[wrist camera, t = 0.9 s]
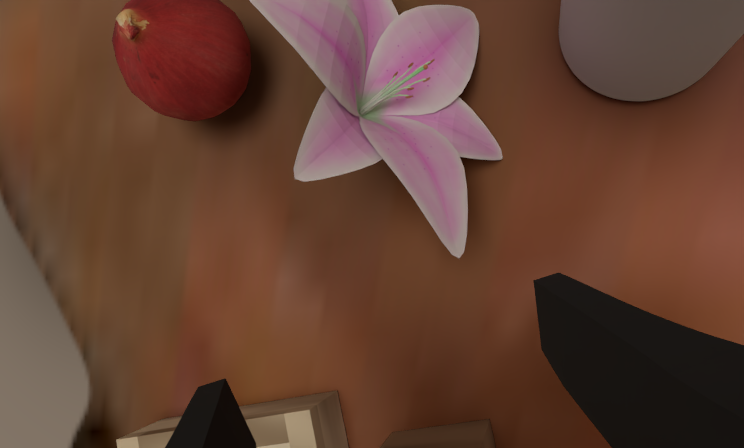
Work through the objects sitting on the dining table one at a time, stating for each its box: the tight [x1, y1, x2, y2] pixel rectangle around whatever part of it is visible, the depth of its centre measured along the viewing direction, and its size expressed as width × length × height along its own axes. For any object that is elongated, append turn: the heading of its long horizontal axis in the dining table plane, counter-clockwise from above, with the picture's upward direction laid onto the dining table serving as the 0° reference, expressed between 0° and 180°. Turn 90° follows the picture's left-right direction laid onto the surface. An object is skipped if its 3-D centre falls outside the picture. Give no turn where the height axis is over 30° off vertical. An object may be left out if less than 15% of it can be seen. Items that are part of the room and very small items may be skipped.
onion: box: [112, 0, 251, 121], centre depth 25 cm, size 6×6×8 cm
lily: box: [250, 0, 503, 258], centre depth 22 cm, size 12×12×10 cm
